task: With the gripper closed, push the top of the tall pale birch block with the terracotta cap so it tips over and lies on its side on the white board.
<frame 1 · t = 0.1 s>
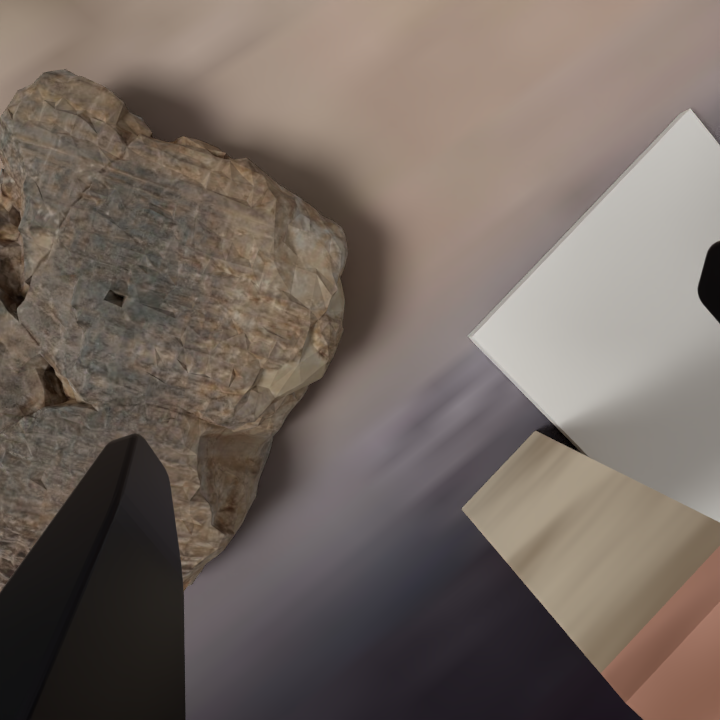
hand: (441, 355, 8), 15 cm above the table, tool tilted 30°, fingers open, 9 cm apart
birch block: (533, 504, 24), on the table
white board: (683, 346, 25), on the table
flat brown rock: (137, 380, 22), on the table
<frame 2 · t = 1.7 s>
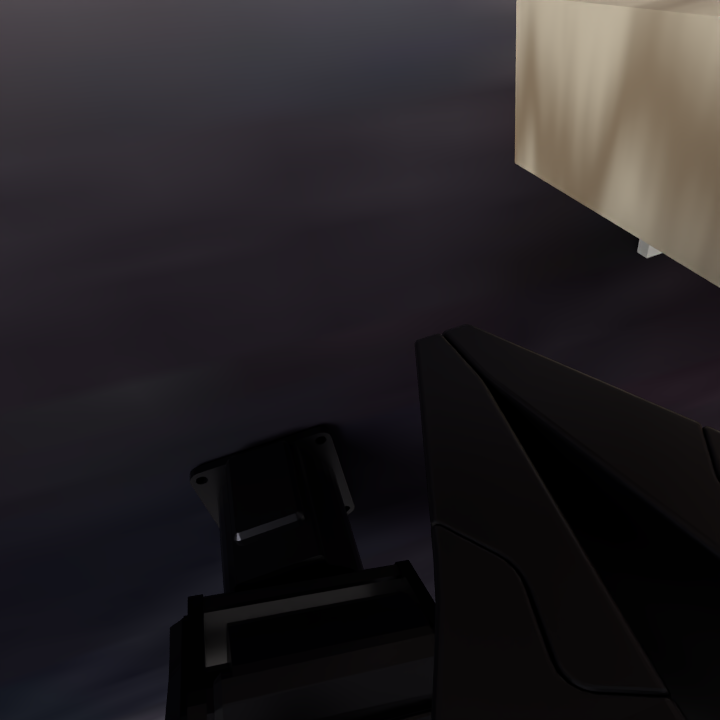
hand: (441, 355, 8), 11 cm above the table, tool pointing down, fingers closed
birch block: (585, 67, 17), on the table
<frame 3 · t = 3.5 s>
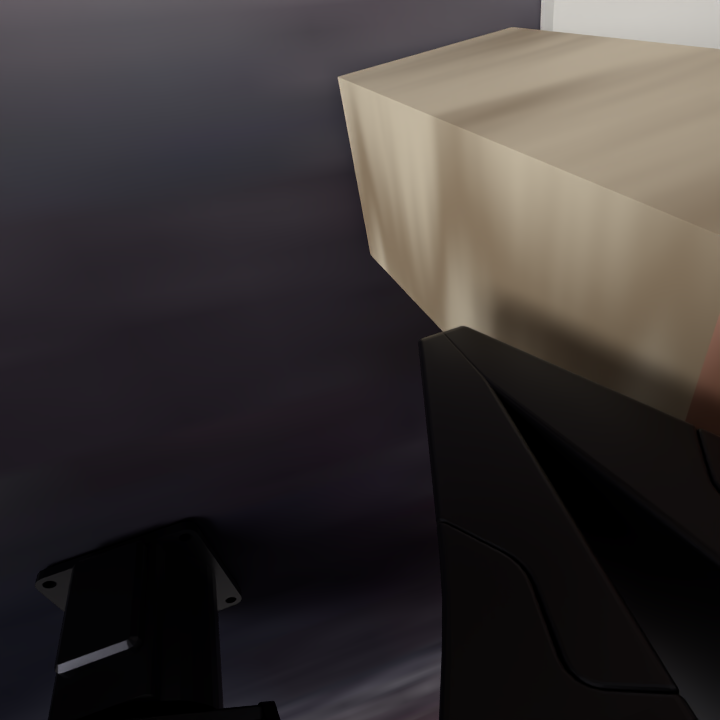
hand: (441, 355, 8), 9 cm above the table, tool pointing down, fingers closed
birch block: (435, 149, 15), on the table, tilted 5°, touching gripper
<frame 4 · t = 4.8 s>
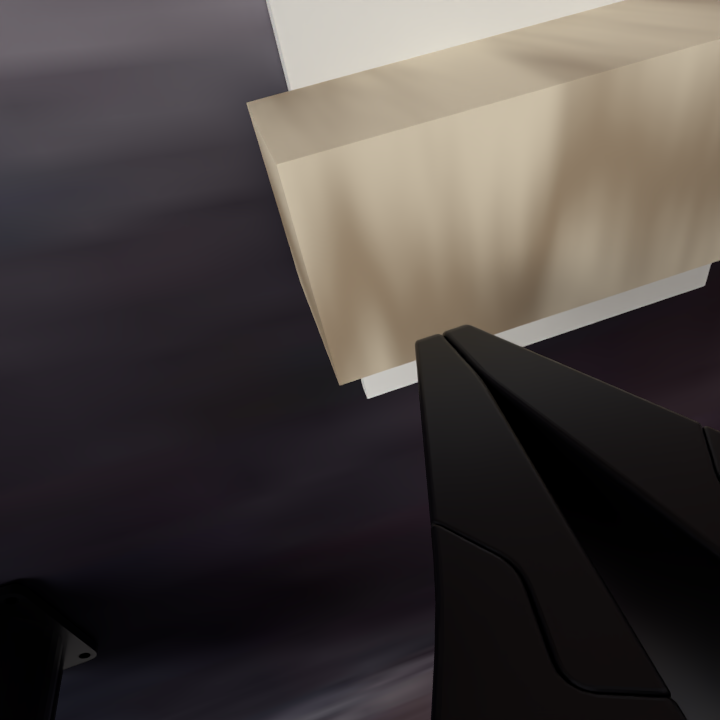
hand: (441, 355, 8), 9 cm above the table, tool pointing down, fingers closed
birch block: (291, 240, 12), point 3 cm above the table, tilted 90°, touching white board
white board: (541, 115, 15), on the table
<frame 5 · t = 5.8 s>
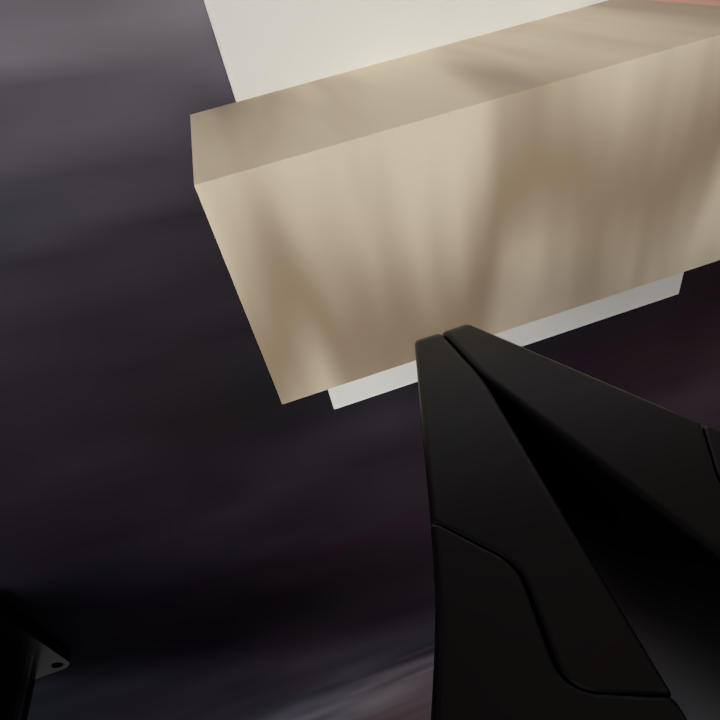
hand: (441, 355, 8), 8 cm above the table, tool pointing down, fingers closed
birch block: (235, 255, 12), point 3 cm above the table, tilted 90°, touching white board
white board: (501, 124, 15), on the table
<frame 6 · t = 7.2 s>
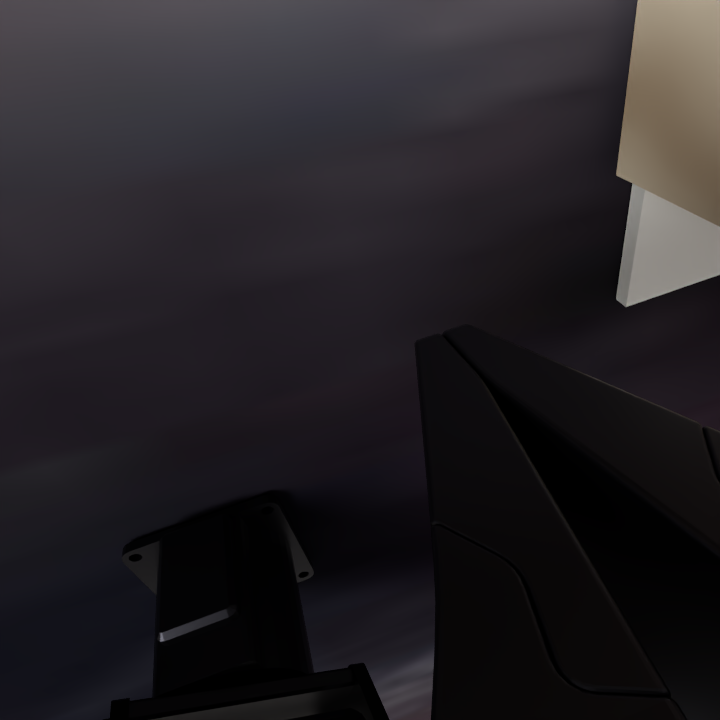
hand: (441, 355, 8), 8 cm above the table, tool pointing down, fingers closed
birch block: (695, 107, 12), point 3 cm above the table, tilted 90°, touching white board
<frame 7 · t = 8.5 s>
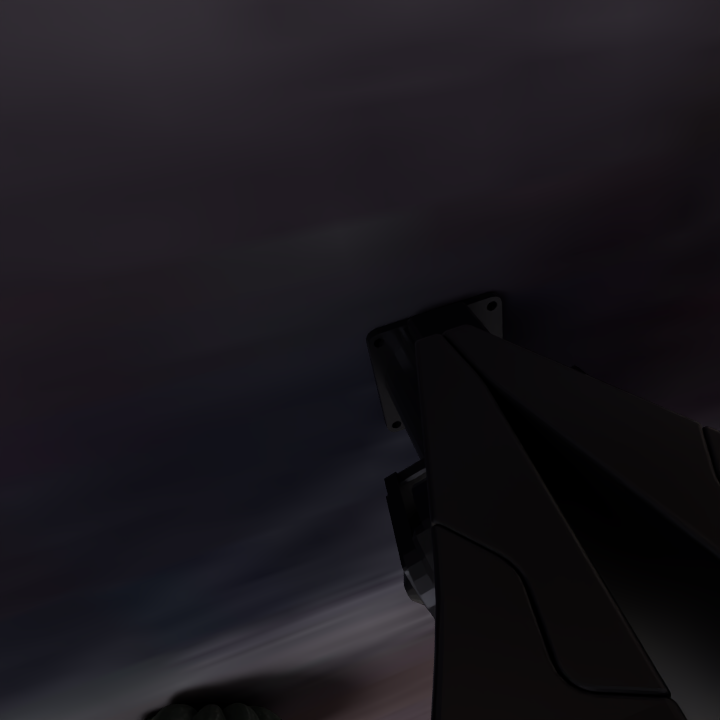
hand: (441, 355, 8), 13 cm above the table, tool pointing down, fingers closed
squash: (194, 716, 42), on the table
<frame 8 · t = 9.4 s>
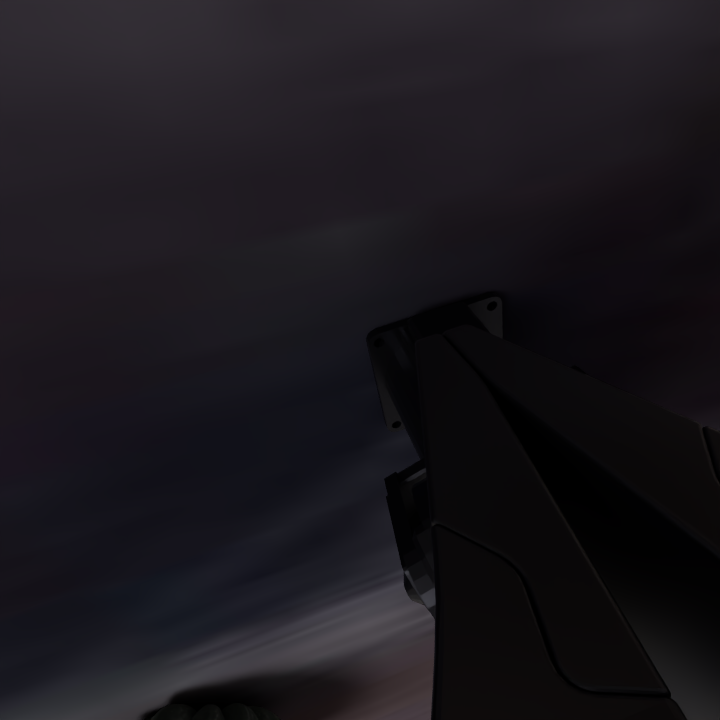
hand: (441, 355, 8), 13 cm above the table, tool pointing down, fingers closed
squash: (193, 716, 42), on the table
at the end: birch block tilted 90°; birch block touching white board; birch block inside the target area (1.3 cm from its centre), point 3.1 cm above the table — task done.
